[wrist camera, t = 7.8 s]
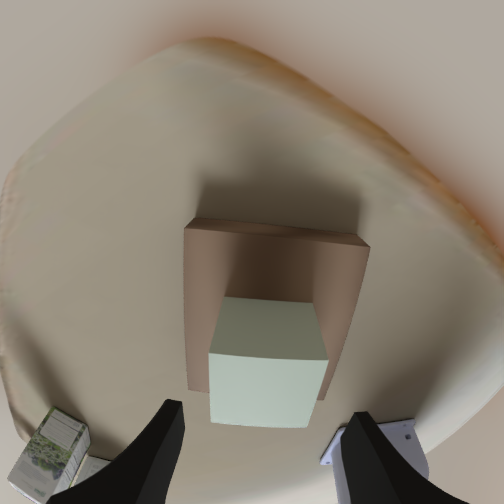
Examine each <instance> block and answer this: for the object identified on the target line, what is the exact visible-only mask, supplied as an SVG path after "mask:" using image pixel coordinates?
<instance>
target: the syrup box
mask: <svg viewBox="0 0 504 504" xmlns="http://www.w3.org/2000/svg"><path fill="white" fill-rule="evenodd" d="M90 444H91V441H90V436H89V431H88V427H87V425H86V424H84V423H82V422H80V421H78V420H76V419H74V418H73V417H71V416H69V415H67V414H66V413H64V412H62V411H60V410H59V409H57V408H55V407H52V408H51V409H50V411H49V412H48V414H47V415H46V417H45V418H44V420H43V421H42V423H41V424H40V426H39V427H38V429H37V430H36V432H35V433H34V435H33V436H32V438H31V440H30V441H29V443H28V444H27V446H26V447H25V449H24V451H23V452H22V454H21V455H20V457H19V459H18V461H17V462H16V464H15V465H14V467H13V469H12V471H11V472H10V474H9V476H8V478H7V479H8V481H9V483H10V484H11V485H12V486H13V488H14V489H16V490H17V491H18V492H20V493H21V494H23V495H24V496H25V497H27V498H28V499H30V500H31V501H33V502H35V503H36V504H46V502H47V501H48V499H49V498H50V496H52V495H54V494H57V493H59V492H61V491H64V490H66V489H68V488H70V486H71V484H72V482H73V480H74V477H75V475H76V473H77V471H78V469H79V467H80V464H81V462H82V460H83V458H84V456H85V454H86V452H87V450H88V448H89V446H90Z"/></svg>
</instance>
